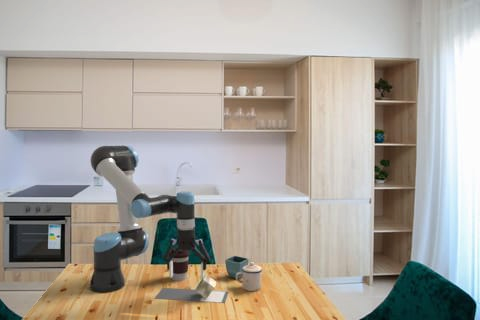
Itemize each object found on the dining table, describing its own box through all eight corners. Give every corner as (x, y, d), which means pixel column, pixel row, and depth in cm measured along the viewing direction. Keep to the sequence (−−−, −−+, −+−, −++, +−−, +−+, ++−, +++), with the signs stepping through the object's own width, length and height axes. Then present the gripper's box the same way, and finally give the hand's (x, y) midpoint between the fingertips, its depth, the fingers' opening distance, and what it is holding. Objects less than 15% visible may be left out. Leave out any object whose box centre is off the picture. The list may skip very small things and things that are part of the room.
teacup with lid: (260, 283, 183) (260, 259, 182) (263, 291, 174) (263, 265, 173) (234, 284, 182) (235, 259, 181) (236, 291, 173) (236, 266, 172)
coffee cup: (187, 283, 181) (188, 252, 180) (166, 283, 181) (166, 251, 181) (190, 276, 191) (191, 246, 190) (170, 275, 191) (171, 245, 191)
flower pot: (249, 276, 193) (249, 258, 192) (239, 281, 185) (239, 263, 185) (234, 272, 197) (234, 255, 197) (224, 277, 190) (224, 259, 189)
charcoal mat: (153, 300, 162) (153, 298, 162) (162, 289, 174) (162, 287, 174) (224, 304, 159) (224, 303, 159) (228, 293, 171) (228, 291, 170)
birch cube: (202, 279, 162) (214, 287, 162) (205, 274, 168) (216, 282, 168) (194, 290, 163) (206, 298, 162) (198, 285, 169) (209, 293, 168)
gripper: (154, 229, 163) (155, 279, 164) (213, 230, 160) (214, 281, 161) (160, 226, 170) (161, 273, 171) (216, 226, 167) (217, 274, 168)
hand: (186, 277), depth 166 cm, fingers open, 13 cm apart
